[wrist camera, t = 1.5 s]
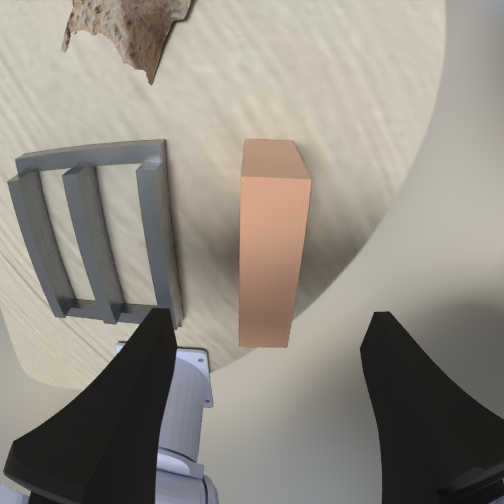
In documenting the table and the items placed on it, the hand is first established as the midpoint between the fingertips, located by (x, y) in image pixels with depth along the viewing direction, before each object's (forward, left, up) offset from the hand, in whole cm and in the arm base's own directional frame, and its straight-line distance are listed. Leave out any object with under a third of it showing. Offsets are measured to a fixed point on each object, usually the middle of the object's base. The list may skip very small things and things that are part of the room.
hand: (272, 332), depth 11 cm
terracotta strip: (0, 0, -9) cm, 9 cm away
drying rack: (-2, +11, -9) cm, 14 cm away
